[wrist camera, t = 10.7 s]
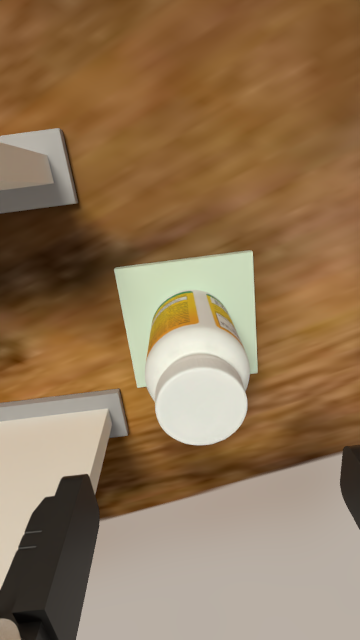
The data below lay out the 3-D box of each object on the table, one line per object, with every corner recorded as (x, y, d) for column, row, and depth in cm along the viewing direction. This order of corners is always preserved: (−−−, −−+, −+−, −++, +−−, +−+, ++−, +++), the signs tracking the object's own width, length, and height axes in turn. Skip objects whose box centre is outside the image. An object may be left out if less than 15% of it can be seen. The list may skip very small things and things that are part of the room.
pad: (115, 267, 22) (114, 269, 22) (250, 250, 22) (252, 251, 22) (138, 383, 26) (137, 387, 25) (255, 368, 25) (257, 372, 25)
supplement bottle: (237, 295, 23) (282, 365, 14) (218, 364, 24) (247, 465, 16) (158, 280, 22) (151, 343, 13) (145, 352, 24) (131, 450, 15)
